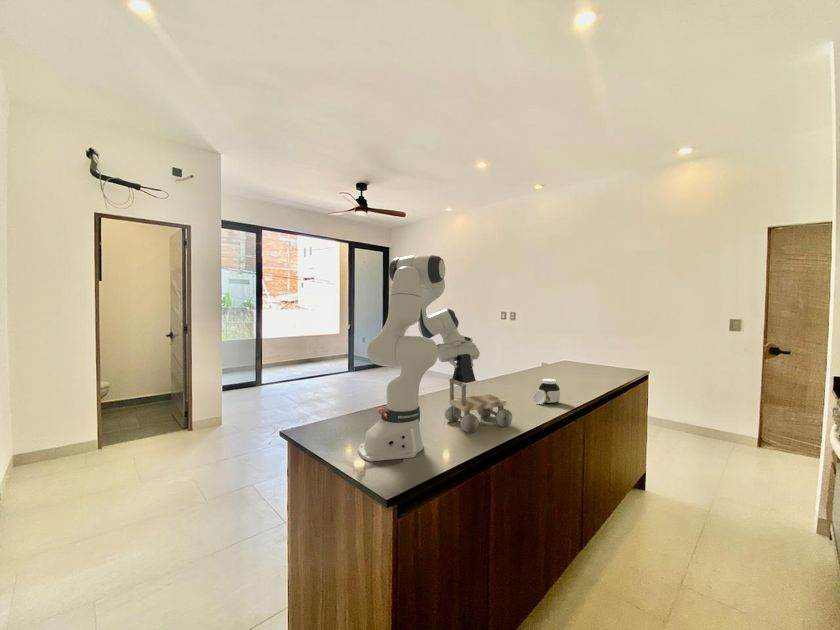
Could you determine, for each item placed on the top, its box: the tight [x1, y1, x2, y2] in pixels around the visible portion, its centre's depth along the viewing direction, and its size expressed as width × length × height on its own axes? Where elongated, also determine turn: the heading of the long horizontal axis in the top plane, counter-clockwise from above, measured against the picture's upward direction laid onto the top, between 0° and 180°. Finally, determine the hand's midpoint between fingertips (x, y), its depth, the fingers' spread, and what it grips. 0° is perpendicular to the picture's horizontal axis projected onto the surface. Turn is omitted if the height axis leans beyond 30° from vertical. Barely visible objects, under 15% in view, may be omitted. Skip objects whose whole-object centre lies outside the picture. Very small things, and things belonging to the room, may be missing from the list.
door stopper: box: [452, 354, 476, 384], centre depth 162 cm, size 9×6×12 cm, turn 40°
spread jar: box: [532, 378, 561, 405], centre depth 179 cm, size 12×11×12 cm
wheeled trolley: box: [443, 377, 513, 434], centre depth 149 cm, size 23×16×19 cm
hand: (464, 366), depth 161 cm, fingers closed on door stopper, 6 cm apart
